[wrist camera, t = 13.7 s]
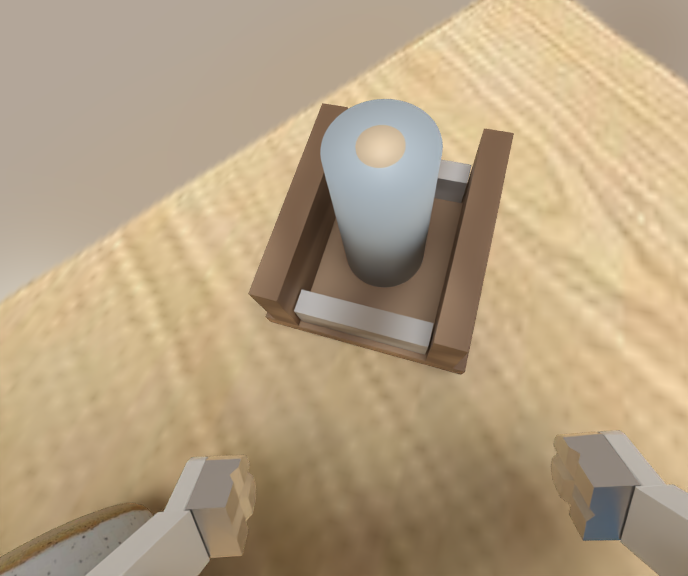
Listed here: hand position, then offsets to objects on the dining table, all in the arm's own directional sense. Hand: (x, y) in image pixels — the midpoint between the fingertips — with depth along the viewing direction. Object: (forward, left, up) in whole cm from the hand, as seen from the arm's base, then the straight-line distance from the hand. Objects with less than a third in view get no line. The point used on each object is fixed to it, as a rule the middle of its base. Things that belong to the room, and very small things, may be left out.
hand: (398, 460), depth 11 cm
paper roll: (0, +10, -9) cm, 14 cm away
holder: (+1, +10, -10) cm, 15 cm away
